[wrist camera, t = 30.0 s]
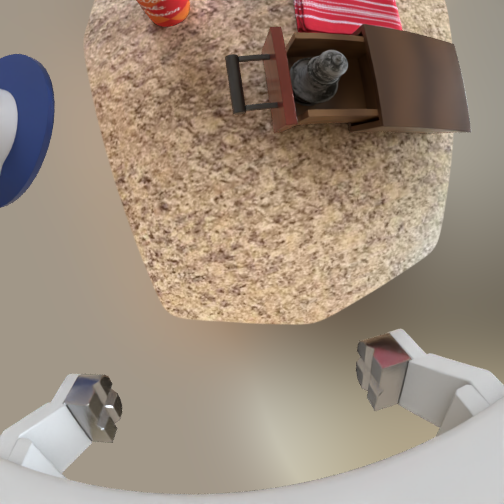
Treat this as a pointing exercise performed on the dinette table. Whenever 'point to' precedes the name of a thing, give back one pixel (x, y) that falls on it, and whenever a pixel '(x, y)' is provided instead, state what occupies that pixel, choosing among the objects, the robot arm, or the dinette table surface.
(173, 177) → the dinette table surface
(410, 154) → the dinette table surface
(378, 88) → the cabinet
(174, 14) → the paper cup
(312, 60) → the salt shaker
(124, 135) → the dinette table surface
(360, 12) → the dish towel
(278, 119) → the drawer
